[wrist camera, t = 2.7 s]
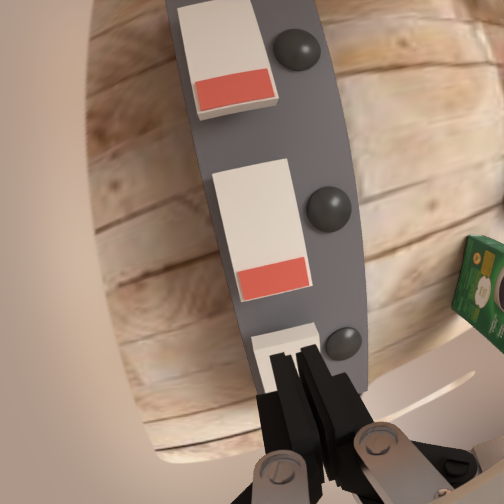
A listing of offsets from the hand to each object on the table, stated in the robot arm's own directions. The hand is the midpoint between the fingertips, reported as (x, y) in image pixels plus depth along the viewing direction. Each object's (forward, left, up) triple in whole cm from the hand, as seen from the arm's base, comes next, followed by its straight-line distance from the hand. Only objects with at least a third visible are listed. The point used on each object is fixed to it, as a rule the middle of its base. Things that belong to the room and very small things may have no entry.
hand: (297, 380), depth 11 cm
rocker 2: (0, -3, -9) cm, 10 cm away
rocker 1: (0, -13, -9) cm, 16 cm away
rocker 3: (0, +6, -9) cm, 11 cm away
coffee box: (-20, +6, -14) cm, 25 cm away
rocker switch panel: (-2, -4, -14) cm, 14 cm away
